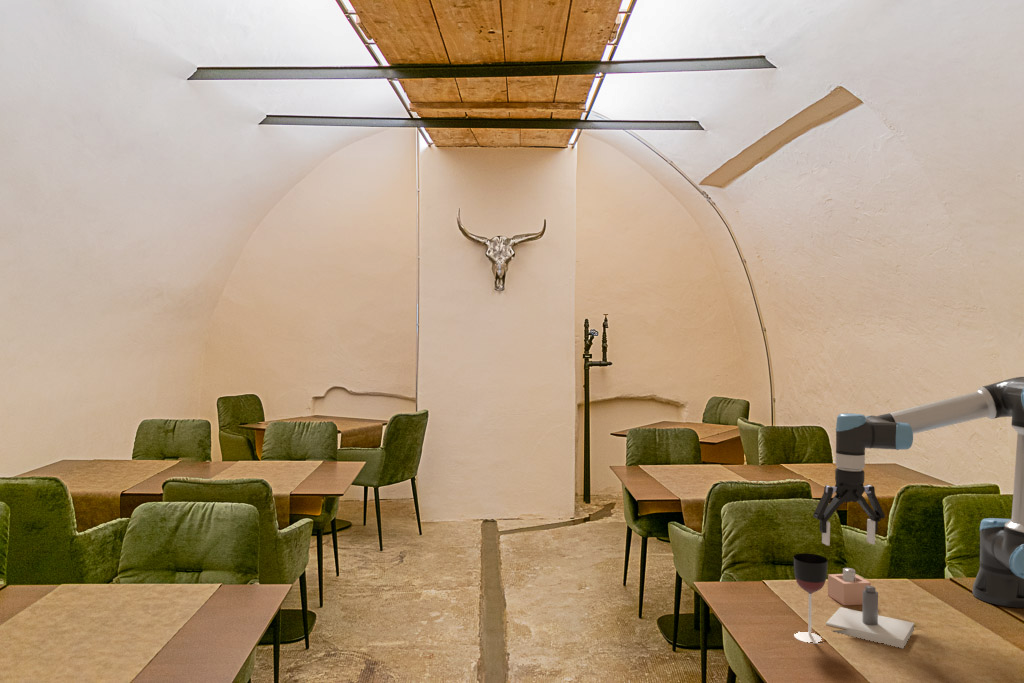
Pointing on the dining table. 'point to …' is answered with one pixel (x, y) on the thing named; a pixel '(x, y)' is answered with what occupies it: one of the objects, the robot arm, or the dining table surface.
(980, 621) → the dining table surface
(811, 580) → the wineglass
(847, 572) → the stand
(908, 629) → the base plate with rod
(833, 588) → the collar
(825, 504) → the robot arm
